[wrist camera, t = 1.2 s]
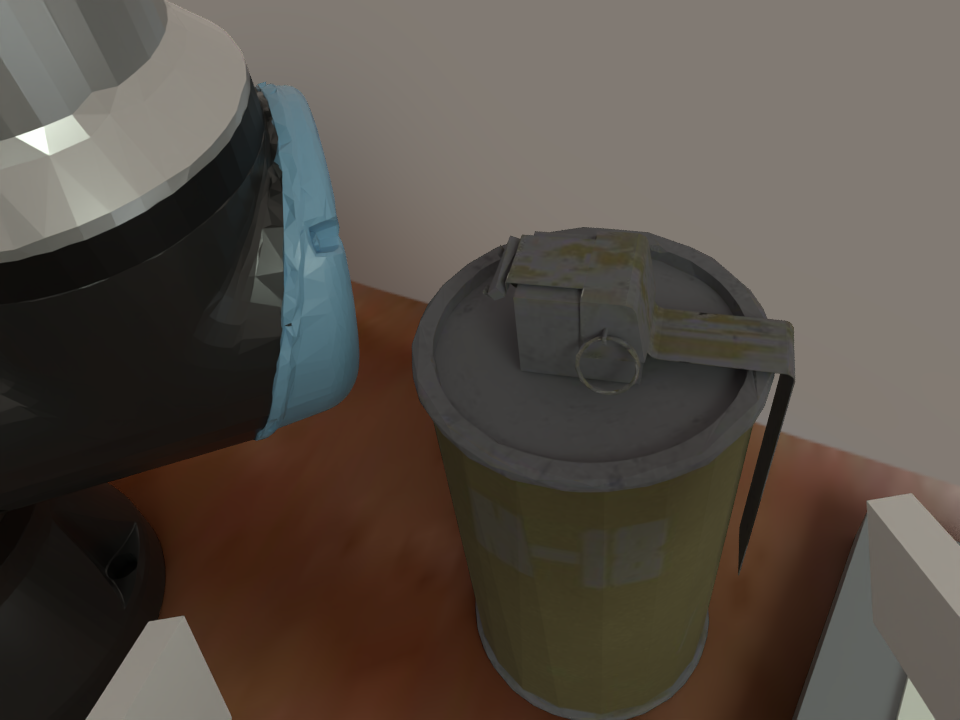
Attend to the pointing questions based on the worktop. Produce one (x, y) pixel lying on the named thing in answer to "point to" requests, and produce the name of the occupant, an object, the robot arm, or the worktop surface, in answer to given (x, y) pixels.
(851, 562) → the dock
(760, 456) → the canister
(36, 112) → the robot arm
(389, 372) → the worktop surface
